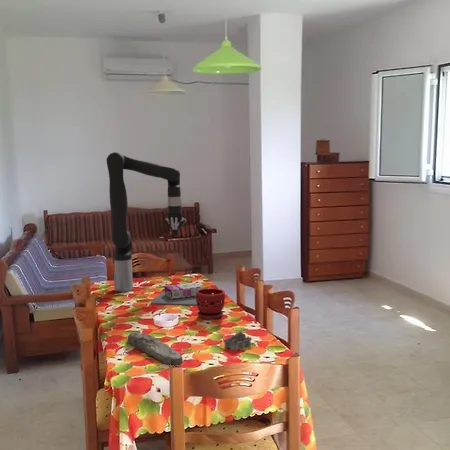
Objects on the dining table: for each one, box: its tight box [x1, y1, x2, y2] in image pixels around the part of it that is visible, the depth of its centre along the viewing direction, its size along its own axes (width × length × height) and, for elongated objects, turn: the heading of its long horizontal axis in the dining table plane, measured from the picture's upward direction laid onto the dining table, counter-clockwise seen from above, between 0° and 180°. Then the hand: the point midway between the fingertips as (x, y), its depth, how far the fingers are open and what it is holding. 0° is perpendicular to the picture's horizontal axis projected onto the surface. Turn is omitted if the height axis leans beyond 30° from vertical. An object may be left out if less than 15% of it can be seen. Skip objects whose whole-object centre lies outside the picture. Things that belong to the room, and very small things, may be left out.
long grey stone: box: [127, 331, 184, 366], centre depth 206 cm, size 35×5×10 cm
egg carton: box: [222, 331, 254, 351], centre depth 210 cm, size 11×8×4 cm
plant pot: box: [196, 288, 226, 320], centre depth 246 cm, size 13×13×12 cm
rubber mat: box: [150, 291, 197, 306], centre depth 276 cm, size 24×20×1 cm
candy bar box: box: [164, 282, 202, 299], centre depth 280 cm, size 11×5×16 cm
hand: (175, 236), depth 296 cm, fingers closed
